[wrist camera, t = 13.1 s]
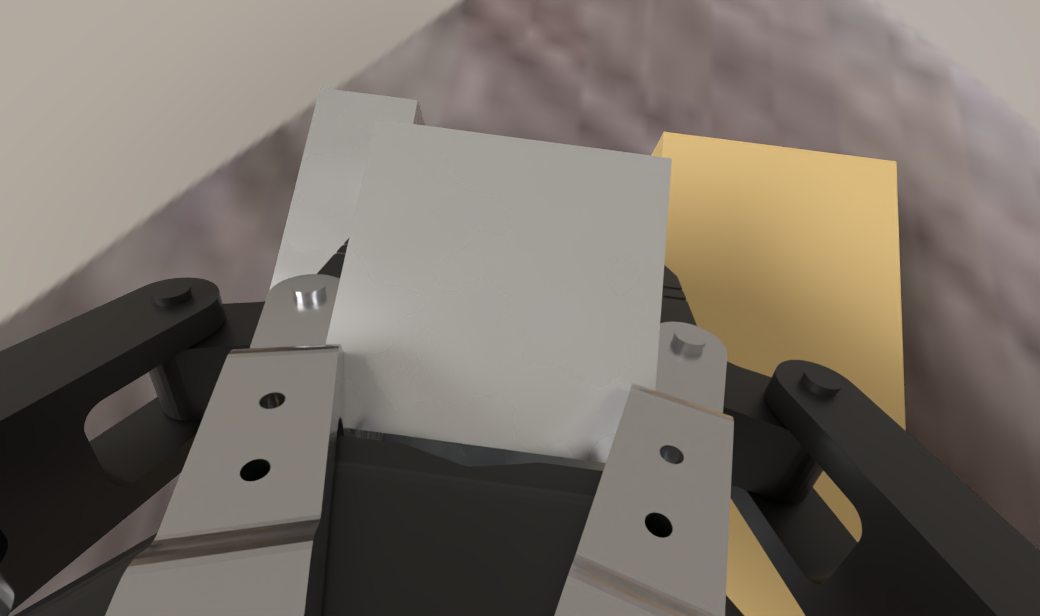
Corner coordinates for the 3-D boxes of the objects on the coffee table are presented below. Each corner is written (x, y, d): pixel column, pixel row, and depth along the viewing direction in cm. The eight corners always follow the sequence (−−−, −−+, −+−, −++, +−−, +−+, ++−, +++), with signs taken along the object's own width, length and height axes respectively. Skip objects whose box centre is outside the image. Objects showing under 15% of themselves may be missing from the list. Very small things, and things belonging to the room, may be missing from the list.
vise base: (833, 205, 20) (936, 137, 15) (835, 649, 17) (969, 746, 12) (341, 141, 20) (286, 54, 15) (242, 567, 17) (132, 628, 12)
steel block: (583, 300, 16) (671, 158, 8) (568, 441, 15) (649, 469, 7) (446, 281, 16) (375, 118, 8) (422, 421, 15) (308, 422, 7)
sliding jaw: (828, 206, 18) (896, 161, 15) (828, 632, 15) (914, 690, 12) (637, 182, 18) (663, 131, 15) (600, 600, 15) (624, 650, 12)
